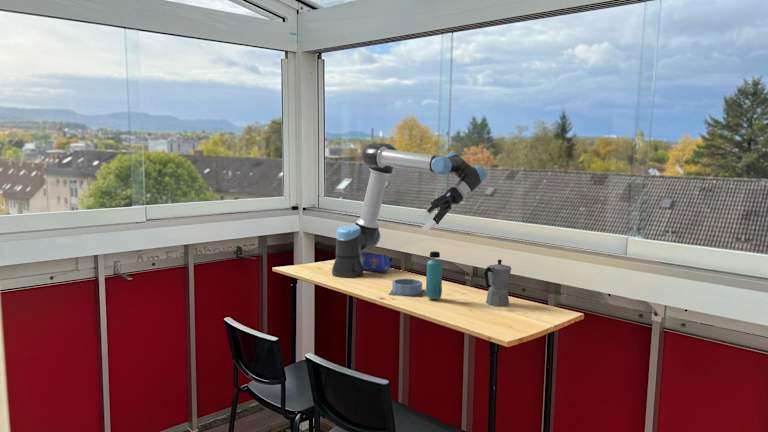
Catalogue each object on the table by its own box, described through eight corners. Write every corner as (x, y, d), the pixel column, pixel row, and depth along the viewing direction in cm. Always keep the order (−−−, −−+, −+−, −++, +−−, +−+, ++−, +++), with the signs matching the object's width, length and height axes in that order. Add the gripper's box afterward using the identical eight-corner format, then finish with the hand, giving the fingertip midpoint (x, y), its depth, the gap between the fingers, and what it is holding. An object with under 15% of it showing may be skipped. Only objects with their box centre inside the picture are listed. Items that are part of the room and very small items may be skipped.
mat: (388, 295, 238) (388, 294, 238) (393, 287, 252) (393, 287, 252) (421, 298, 236) (421, 297, 236) (425, 290, 250) (425, 289, 250)
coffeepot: (498, 298, 238) (501, 256, 236) (517, 303, 231) (519, 260, 229) (473, 304, 228) (476, 259, 226) (492, 309, 221) (494, 263, 219)
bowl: (390, 294, 239) (390, 284, 238) (395, 287, 251) (395, 278, 251) (419, 296, 237) (420, 286, 236) (423, 289, 249) (423, 279, 248)
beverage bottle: (440, 302, 229) (442, 253, 227) (424, 301, 231) (425, 252, 228) (442, 298, 236) (444, 250, 233) (426, 297, 237) (428, 249, 235)
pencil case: (392, 272, 286) (393, 253, 285) (384, 275, 279) (384, 255, 277) (355, 266, 297) (356, 248, 296) (346, 269, 289) (346, 250, 288)
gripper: (465, 184, 238) (428, 217, 233) (463, 210, 260) (429, 240, 256) (452, 173, 241) (415, 206, 236) (451, 200, 263) (418, 229, 258)
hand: (422, 224), depth 246 cm, fingers open, 13 cm apart
